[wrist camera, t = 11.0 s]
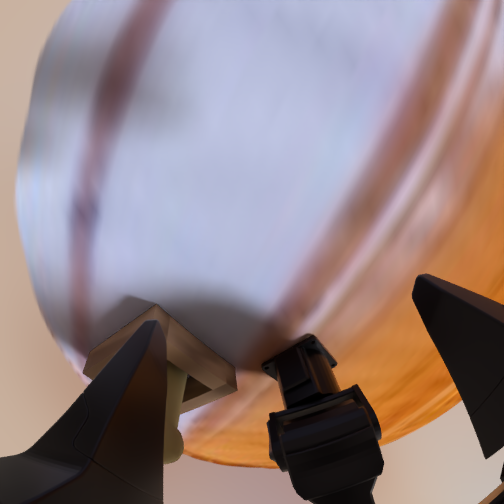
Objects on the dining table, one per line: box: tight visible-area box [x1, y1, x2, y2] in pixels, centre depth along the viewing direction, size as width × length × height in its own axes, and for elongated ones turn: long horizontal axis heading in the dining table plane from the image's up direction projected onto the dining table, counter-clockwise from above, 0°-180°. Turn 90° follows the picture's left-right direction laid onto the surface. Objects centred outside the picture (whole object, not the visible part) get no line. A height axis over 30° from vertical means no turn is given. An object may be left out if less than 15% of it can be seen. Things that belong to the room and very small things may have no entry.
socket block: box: [83, 304, 238, 414], centre depth 24 cm, size 11×11×3 cm
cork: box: [163, 360, 188, 464], centre depth 21 cm, size 6×6×11 cm
